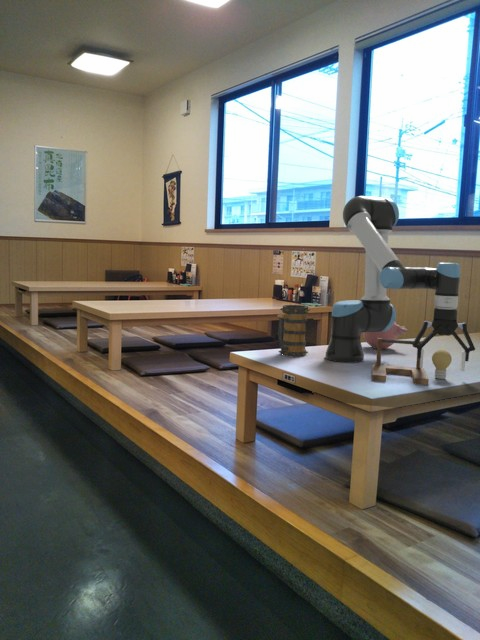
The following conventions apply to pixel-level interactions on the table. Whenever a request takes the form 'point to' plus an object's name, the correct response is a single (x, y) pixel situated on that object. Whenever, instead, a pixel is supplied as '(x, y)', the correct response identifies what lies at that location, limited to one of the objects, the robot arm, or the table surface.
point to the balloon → (384, 335)
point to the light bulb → (441, 363)
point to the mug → (293, 330)
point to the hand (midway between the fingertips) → (441, 369)
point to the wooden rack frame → (381, 370)
